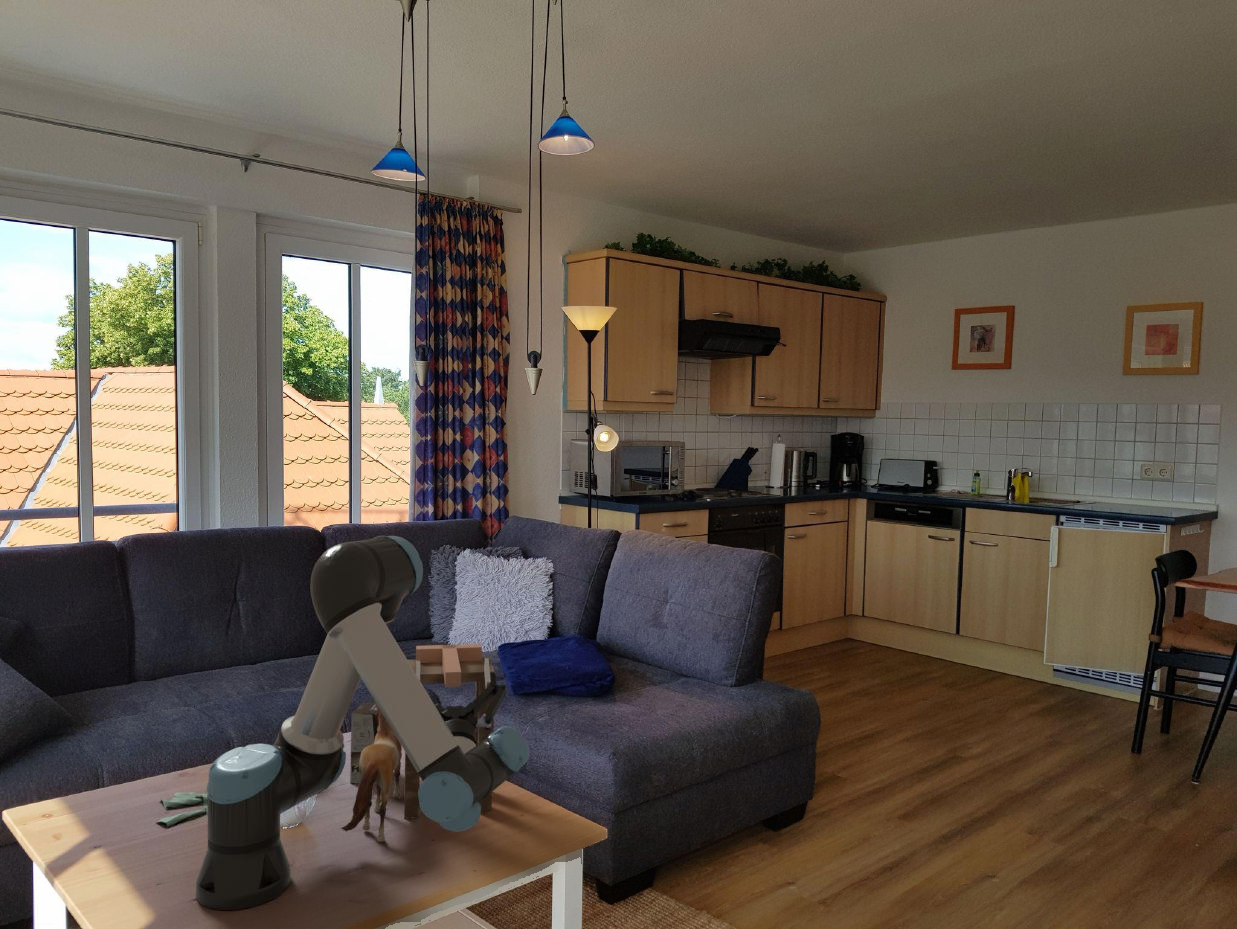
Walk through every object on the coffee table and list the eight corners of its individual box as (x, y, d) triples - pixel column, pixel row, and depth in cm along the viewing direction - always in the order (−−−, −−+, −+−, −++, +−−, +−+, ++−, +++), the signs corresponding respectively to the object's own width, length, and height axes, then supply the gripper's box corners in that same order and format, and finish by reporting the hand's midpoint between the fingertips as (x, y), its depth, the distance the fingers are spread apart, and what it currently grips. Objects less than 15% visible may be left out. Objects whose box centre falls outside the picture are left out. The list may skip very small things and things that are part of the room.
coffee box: (377, 784, 200) (378, 713, 199) (349, 783, 200) (350, 713, 199) (388, 768, 209) (389, 701, 208) (361, 768, 209) (362, 700, 209)
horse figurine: (376, 791, 197) (377, 699, 196) (411, 790, 197) (412, 699, 196) (339, 859, 166) (341, 750, 165) (381, 858, 166) (383, 750, 165)
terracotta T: (416, 688, 173) (416, 673, 172) (416, 659, 194) (416, 645, 194) (489, 685, 176) (489, 670, 176) (480, 657, 197) (480, 643, 197)
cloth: (246, 824, 180) (246, 812, 180) (123, 843, 171) (124, 831, 171) (242, 786, 199) (242, 776, 199) (131, 802, 189) (131, 791, 189)
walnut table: (404, 818, 183) (406, 674, 182) (404, 794, 195) (406, 659, 194) (491, 811, 187) (494, 671, 186) (487, 789, 199) (489, 656, 198)
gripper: (385, 766, 161) (389, 679, 179) (522, 758, 167) (512, 675, 184) (385, 738, 157) (389, 652, 175) (525, 730, 163) (515, 648, 180)
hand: (452, 664), depth 180 cm, fingers open, 13 cm apart
